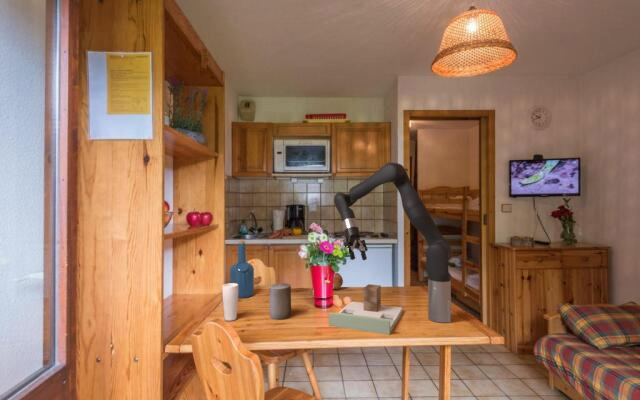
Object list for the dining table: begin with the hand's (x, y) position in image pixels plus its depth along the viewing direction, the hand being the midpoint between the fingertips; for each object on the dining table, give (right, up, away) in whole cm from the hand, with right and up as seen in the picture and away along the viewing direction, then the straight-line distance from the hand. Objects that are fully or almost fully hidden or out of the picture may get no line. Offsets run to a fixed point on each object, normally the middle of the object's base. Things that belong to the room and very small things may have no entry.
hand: (359, 259), depth 166 cm
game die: (-19, -23, +13) cm, 33 cm away
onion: (-11, -23, +33) cm, 42 cm away
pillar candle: (-37, -23, -13) cm, 46 cm away
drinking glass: (-58, -23, -17) cm, 65 cm away
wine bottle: (-62, -24, +20) cm, 69 cm away
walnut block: (+5, -21, -9) cm, 23 cm away
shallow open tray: (+2, -23, -16) cm, 28 cm away
